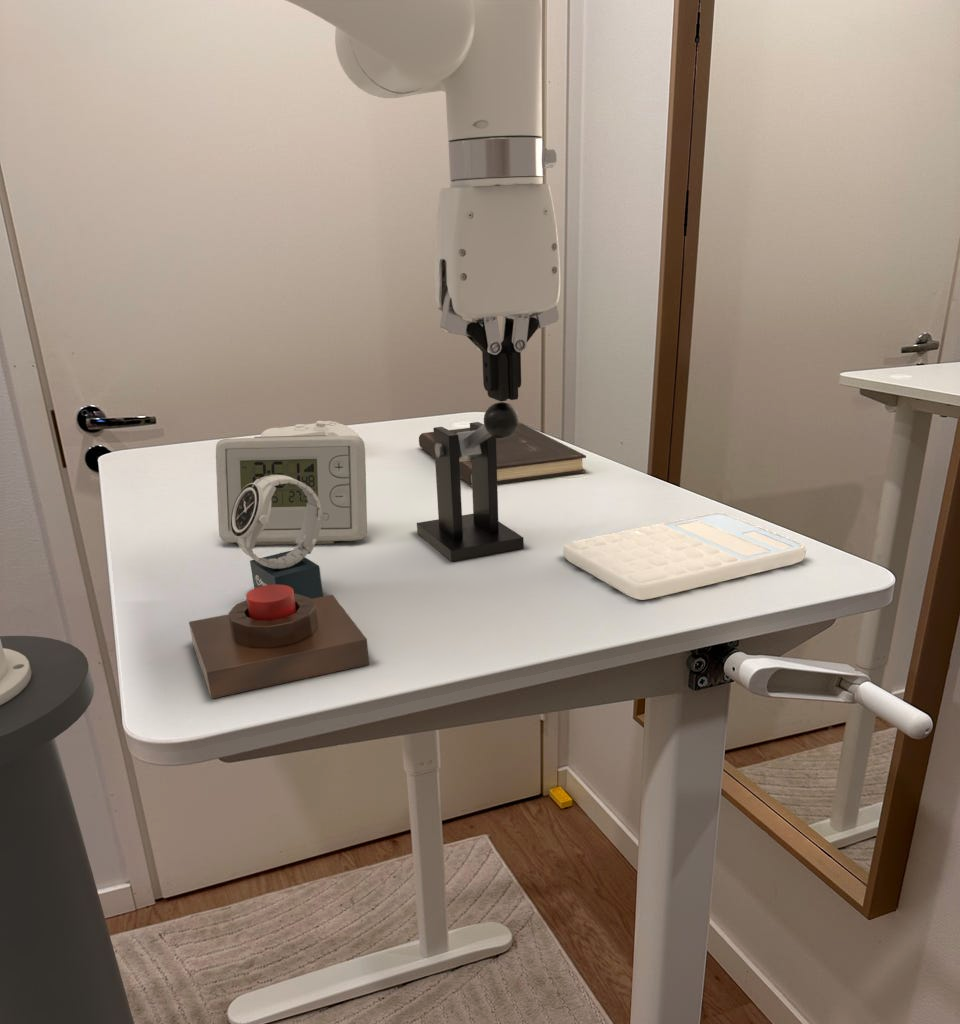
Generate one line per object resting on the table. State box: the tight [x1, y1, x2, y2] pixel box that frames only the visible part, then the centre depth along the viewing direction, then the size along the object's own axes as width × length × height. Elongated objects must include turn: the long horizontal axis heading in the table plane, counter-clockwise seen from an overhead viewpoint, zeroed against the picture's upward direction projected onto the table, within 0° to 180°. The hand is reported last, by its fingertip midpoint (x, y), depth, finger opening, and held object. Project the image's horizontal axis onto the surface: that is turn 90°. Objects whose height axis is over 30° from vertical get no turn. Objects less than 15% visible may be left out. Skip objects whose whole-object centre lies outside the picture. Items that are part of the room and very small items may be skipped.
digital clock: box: [215, 435, 368, 546], centre depth 96 cm, size 16×9×11 cm, turn 75°
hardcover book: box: [418, 421, 587, 487], centre depth 125 cm, size 16×23×2 cm
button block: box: [188, 594, 370, 700], centre depth 71 cm, size 12×10×4 cm
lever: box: [456, 401, 520, 462], centre depth 86 cm, size 13×3×3 cm, turn 23°
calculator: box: [562, 512, 807, 601], centre depth 87 cm, size 13×20×2 cm, turn 116°
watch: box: [231, 475, 324, 599], centre depth 81 cm, size 6×8×11 cm
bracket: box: [416, 421, 525, 562], centre depth 93 cm, size 10×8×12 cm
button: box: [245, 584, 296, 620], centre depth 70 cm, size 4×4×2 cm
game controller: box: [260, 420, 360, 437], centre depth 131 cm, size 14×4×10 cm
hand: (502, 397), depth 81 cm, fingers closed
